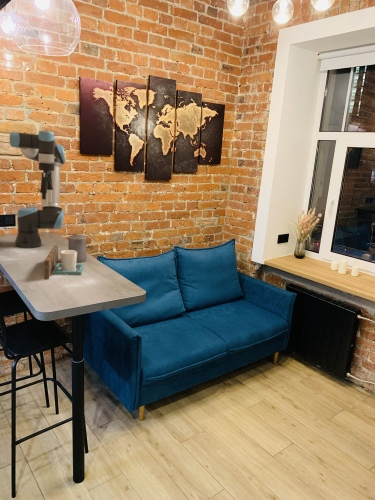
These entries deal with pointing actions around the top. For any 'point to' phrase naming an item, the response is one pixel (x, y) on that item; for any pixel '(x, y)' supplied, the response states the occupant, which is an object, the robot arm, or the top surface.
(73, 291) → the top surface
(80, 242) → the pillar candle
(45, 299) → the top surface
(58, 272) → the keeper frame
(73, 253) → the white cup
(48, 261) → the brown wooden board
